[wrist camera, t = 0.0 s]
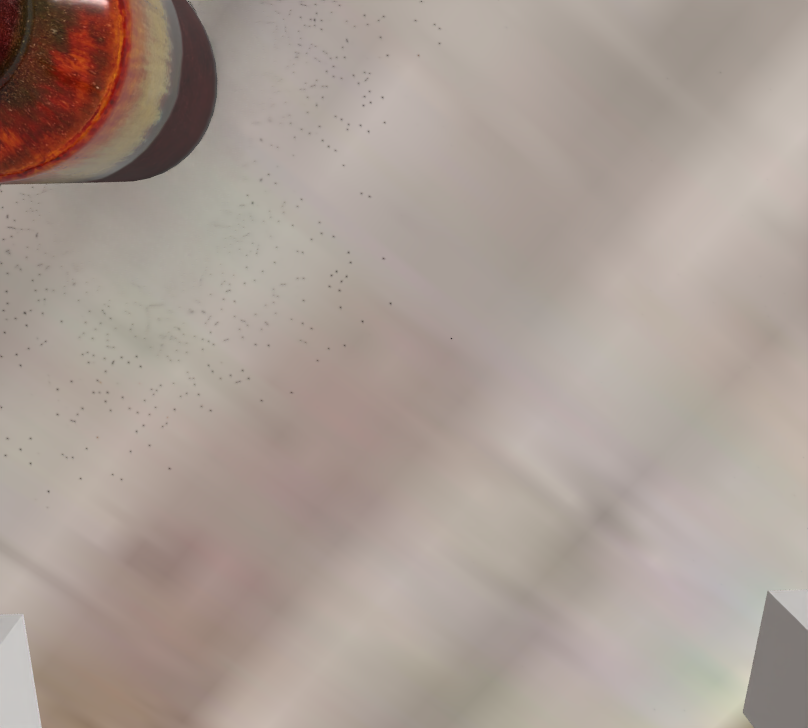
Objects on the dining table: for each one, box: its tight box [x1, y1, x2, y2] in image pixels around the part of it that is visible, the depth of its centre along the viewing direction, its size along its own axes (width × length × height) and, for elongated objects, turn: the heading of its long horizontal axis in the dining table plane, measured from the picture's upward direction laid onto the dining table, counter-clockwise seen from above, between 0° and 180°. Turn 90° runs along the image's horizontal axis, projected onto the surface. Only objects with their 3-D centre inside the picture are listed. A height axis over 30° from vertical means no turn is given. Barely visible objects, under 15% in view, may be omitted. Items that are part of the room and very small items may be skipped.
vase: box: [0, 0, 217, 184], centre depth 24 cm, size 11×11×20 cm
